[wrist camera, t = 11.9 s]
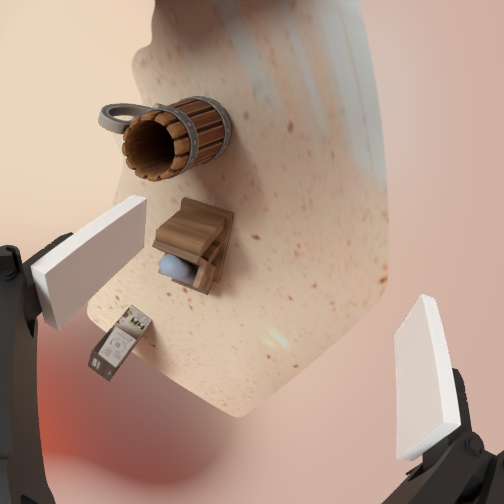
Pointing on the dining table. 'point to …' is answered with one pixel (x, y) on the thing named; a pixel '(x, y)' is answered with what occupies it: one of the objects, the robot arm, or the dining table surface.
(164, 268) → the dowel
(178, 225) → the socket block
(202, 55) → the dining table surface
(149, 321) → the coffee box
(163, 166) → the mug
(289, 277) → the dining table surface
